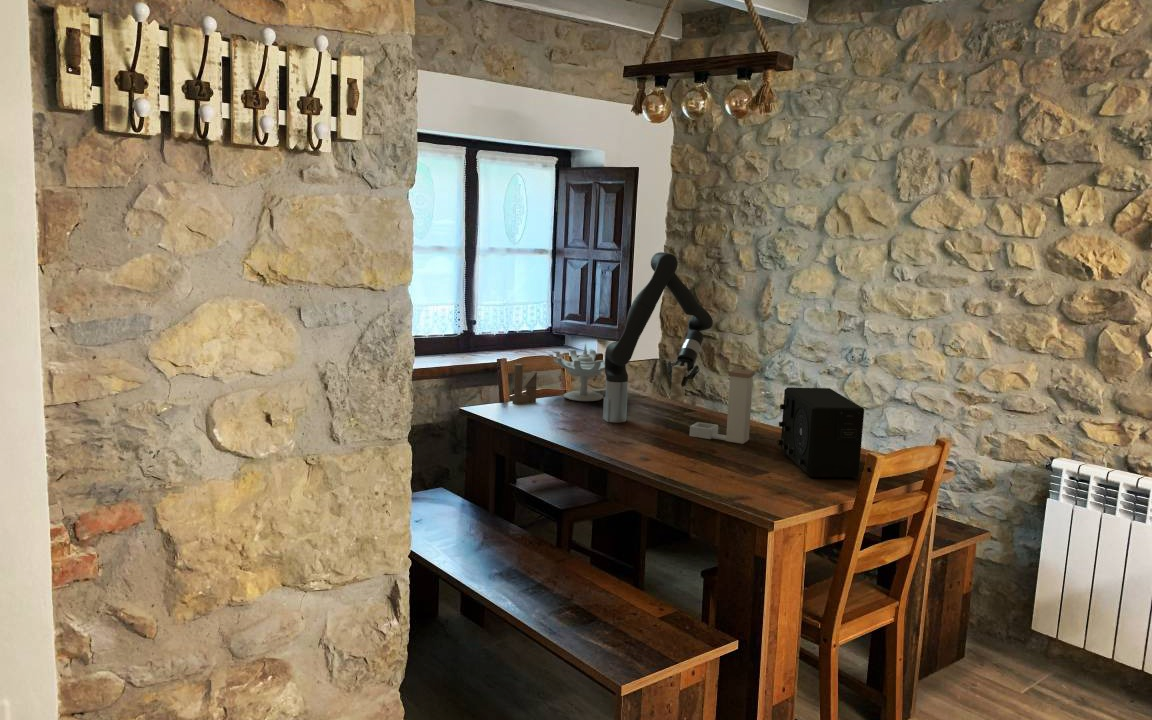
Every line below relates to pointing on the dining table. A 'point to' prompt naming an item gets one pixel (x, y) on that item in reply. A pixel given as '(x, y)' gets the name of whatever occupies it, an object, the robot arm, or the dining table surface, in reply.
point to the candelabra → (582, 372)
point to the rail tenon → (677, 383)
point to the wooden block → (524, 386)
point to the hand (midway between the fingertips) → (676, 384)
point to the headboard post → (732, 411)
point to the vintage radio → (822, 432)
